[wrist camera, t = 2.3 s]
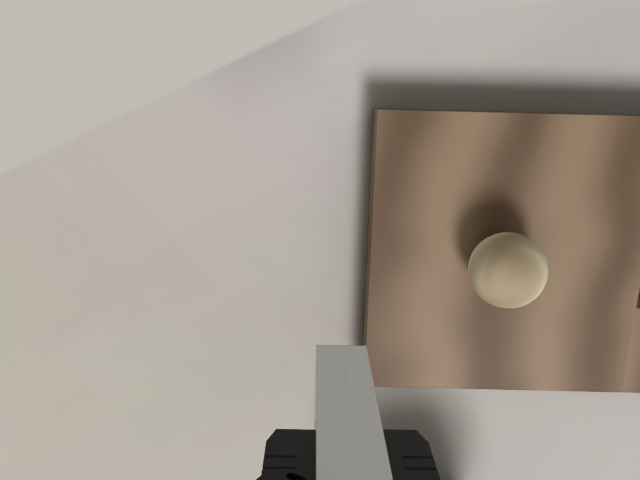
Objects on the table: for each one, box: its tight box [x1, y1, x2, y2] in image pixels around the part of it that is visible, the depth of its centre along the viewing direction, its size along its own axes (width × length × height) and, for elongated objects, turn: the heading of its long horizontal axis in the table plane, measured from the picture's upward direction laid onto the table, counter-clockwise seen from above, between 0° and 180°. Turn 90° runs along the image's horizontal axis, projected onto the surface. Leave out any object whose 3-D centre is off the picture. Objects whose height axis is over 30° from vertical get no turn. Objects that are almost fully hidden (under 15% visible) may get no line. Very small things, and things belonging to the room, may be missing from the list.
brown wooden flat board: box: [363, 109, 640, 393], centre depth 33 cm, size 24×16×2 cm, turn 89°
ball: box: [468, 232, 548, 309], centre depth 30 cm, size 4×4×4 cm
